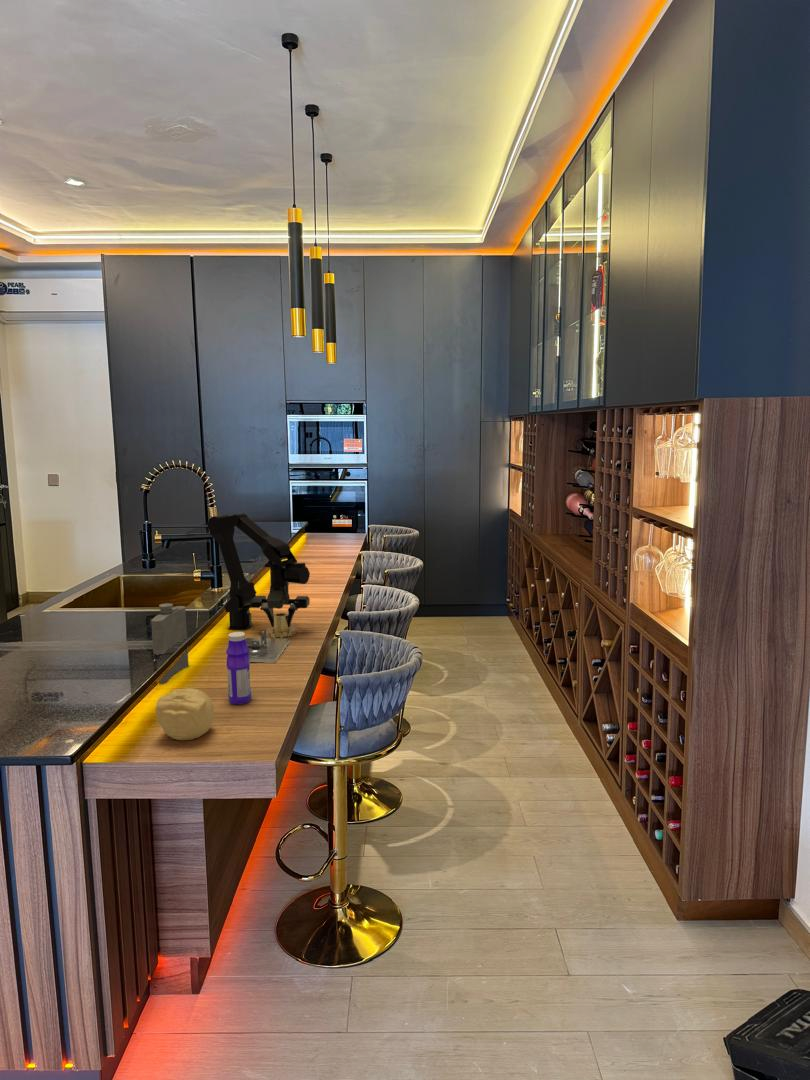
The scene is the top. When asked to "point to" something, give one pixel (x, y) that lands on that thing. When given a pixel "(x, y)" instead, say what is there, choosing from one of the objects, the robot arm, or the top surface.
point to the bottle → (238, 669)
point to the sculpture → (185, 713)
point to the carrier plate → (271, 648)
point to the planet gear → (280, 626)
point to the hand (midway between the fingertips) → (281, 627)
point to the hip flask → (170, 635)
